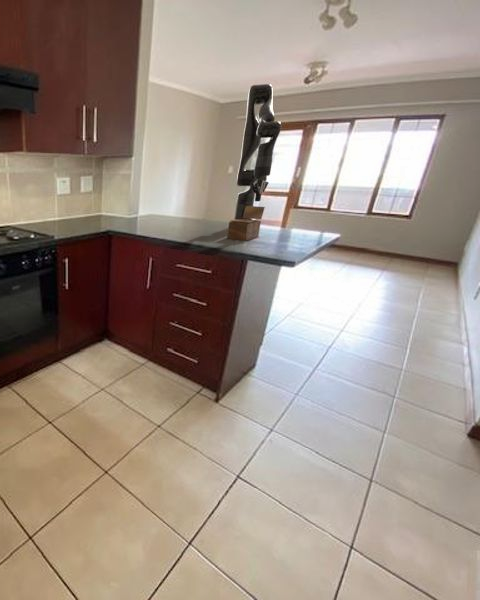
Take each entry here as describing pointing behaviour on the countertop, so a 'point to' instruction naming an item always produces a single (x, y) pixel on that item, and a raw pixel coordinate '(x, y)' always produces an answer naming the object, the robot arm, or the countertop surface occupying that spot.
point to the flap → (253, 212)
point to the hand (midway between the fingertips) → (257, 201)
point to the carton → (243, 229)
